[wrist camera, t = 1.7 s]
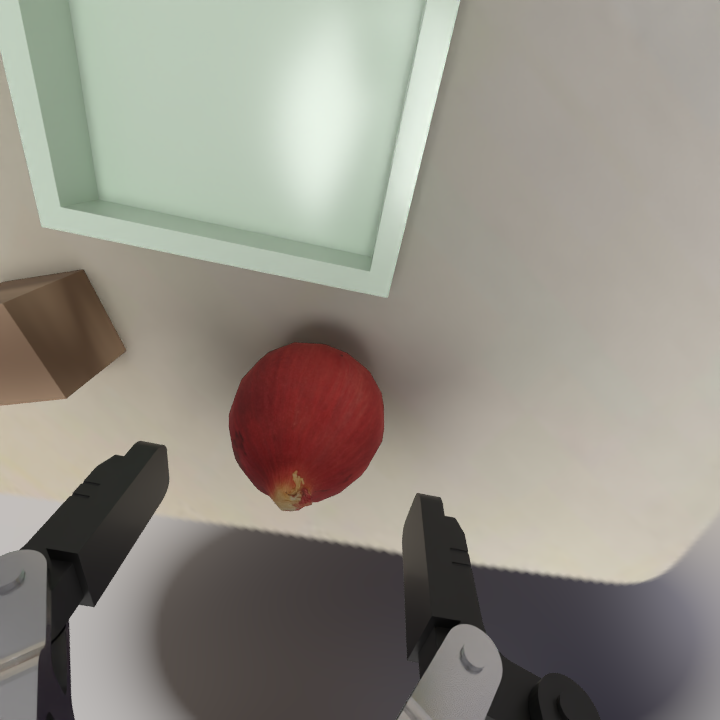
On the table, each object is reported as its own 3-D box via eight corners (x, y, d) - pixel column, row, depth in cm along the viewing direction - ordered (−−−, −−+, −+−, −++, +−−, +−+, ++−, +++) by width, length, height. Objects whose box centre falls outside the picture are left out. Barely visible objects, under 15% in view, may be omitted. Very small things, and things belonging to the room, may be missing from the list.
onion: (329, 434, 20) (298, 589, 13) (238, 368, 18) (147, 507, 11) (409, 367, 17) (424, 514, 11) (314, 285, 16) (257, 396, 9)
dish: (4, -316, 9) (-121, -465, 7) (496, -186, 9) (529, -284, 7) (91, 214, 15) (41, 226, 13) (387, 276, 15) (387, 298, 13)
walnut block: (4, 281, 17) (-96, 317, 13) (84, 268, 16) (2, 303, 13) (54, 358, 19) (-21, 407, 15) (127, 349, 18) (66, 398, 15)
